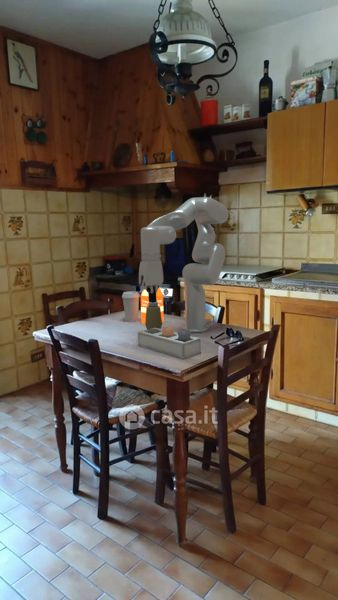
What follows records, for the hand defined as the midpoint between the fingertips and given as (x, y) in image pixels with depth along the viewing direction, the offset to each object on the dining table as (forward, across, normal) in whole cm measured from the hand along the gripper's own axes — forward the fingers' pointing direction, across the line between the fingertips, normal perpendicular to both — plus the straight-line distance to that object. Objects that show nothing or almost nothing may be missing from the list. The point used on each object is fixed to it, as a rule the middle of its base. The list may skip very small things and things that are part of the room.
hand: (152, 301), depth 177 cm
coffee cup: (+19, -23, -42) cm, 51 cm away
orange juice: (+19, -27, -30) cm, 44 cm away
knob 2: (+15, 0, +18) cm, 23 cm away
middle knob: (+15, 0, +9) cm, 17 cm away
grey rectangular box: (+19, 0, +9) cm, 21 cm away
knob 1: (+17, 0, 0) cm, 17 cm away
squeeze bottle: (+19, -15, -16) cm, 29 cm away
